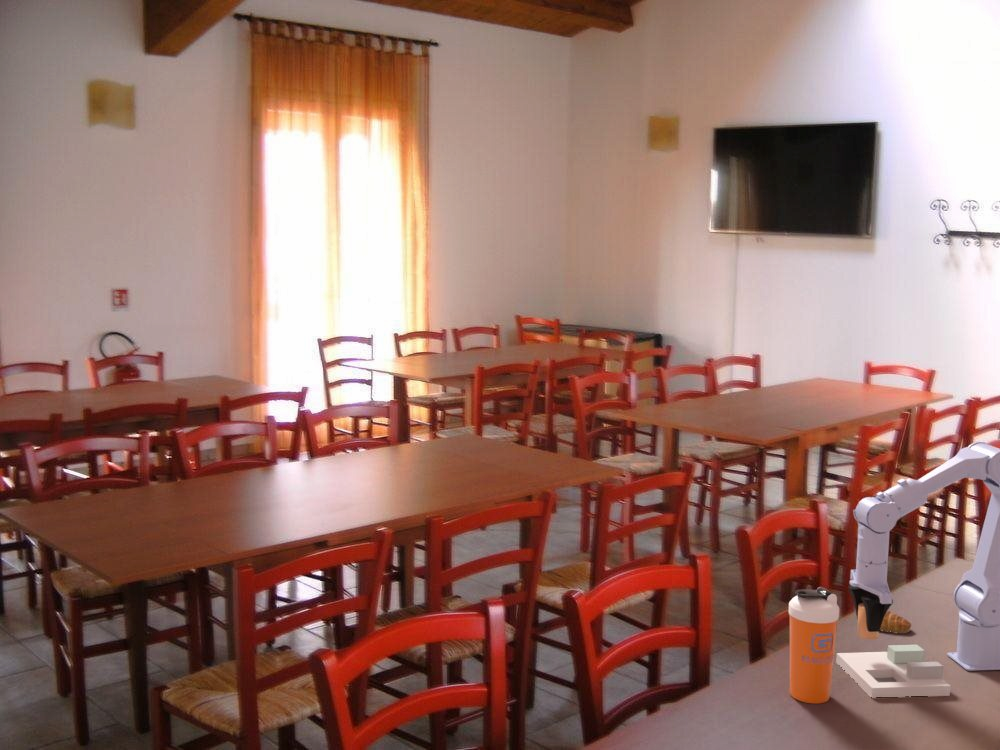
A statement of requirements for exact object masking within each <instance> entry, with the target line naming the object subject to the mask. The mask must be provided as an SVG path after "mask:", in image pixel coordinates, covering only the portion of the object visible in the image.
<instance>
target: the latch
mask: <svg viewBox="0 0 1000 750" xmlns="http://www.w3.org/2000/svg"><path fill="white" fill-rule="evenodd" d="M886 652H887V658H888V659H889V660H890V661H892V662H893V663H894V664H903V663H908V662H925V653H926V652H925V649H923V648H922V647H921V646H919V645H918V644H896V645H895V644H891V645H888V644H887V651H886Z"/></svg>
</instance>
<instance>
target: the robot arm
mask: <svg viewBox="0 0 1000 750" xmlns="http://www.w3.org/2000/svg"><path fill="white" fill-rule="evenodd" d="M966 478H967V479H975V480H980V481H981V480H982V482H983V483H984V485H985V486H986V487H987V488H988V490H989V491H990V494H991V496H990V498H989V501H988V505H987V511H986V515H985V519H984V522H983V525H982V530H981V533H980V538H979V541H978V546H977V550H976V552H975V556H974V560H973V565H972V568H971V569H969V570H967V571H965V572H964V573H963V574H962V578H961V580H960V581H959V583H958V585H957V586H956V587H955V589H954V591H953V593H952V594H953V595H952V597H953V602H954V604H955V606H956V607H957V608H958V616H959V617H958V626H957V627H958V628H957V643H956V651H955V652H953V651H952V652H950V651H949V652H947V656H948V657H949V658H951V660H953V661H954V662H956V663H957V665H960V666H961V667H962V668H963V669H964V670H966V671H972V672H974V671H996V670H998V671H1000V448H999V447H996V446H993V445H990V444H989V443H987V442H984V441H975V442H972V443H971V444H969V445H968V446H966V447H963V448H961V449H959V450H958V452H957V454H955V456H953V457H952V458H950V459H948V460H947V461H946V462H943V463H942V464H941V465H938V466H937V467H936V468H934V469H933V470H931V471H930V472H928V473H927V474H925V475H923V476H922V477H920V478H918V479H914V478H910V477H908V478H906V479H905V478H900V479H899V480H897V484H895V485H894V486H891V487H889V488H888V489H885V490H884V491H879V492H877V493H875V494H876V495H875V496H868V497H866V496H865V497H863V498H862V499H861V500H860V501H859V502H858V503H857V505H856V507H855V509H853V510H852V513H853V517H854V519H855V520H856V522H857V525H858V526H857V530H858V531H857V545H856V563H855V569H850V577H849V579H850V580H849V586H848V589H847V590H849V594H851V597H852V600H853V605H854V609H855V615H856V618H857V619H856V620H857V621H858V605H859V604H860V603H863V604H864V607H865V612H866V624H867V630H868V631H869V632H879V633H880V631H879V630H880V628H881V625H882V622H883V619H884V616H885V614H886V612H887V610H888V611H889V609H890V608H891V606H892V605H893V604H894V599H893V593H892V592H891V591H890V587H889V584H888V581H887V580H888V578H887V577H888V566H889V565H888V564H889V562H888V560H889V546H890V531H892V530H893V529H894V527H895V526H896V525H897V521H899V520H900V519H901V518H903V517H904V516H906V515H907V514H908V515H909V514H910V513H911V512H913V511H915V510H917V509H918V508H920V507H922V506H924V505H925V504H927V500H928V496H929V495H931V494H933V493H936V492H938V491H939V490H942V489H944V488H946V487H948V486H950V485H952V484H954V483H956V482H958V481H960V480H963V479H966Z"/></svg>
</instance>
